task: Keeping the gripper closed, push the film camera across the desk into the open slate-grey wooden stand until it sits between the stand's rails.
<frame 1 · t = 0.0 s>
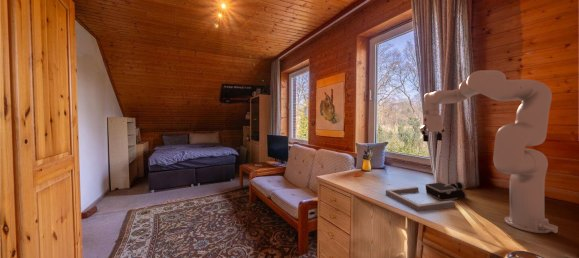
hand: (432, 140, 130), 31 cm above the table, tool pointing down, fingers open, 9 cm apart
film camera: (446, 196, 122), on the table
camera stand: (418, 199, 119), on the table
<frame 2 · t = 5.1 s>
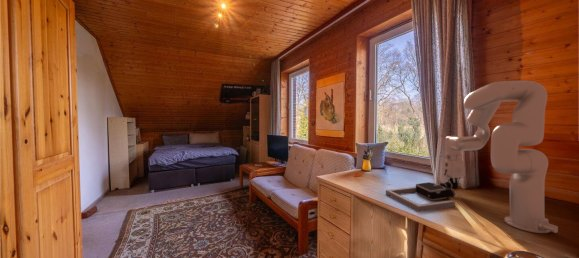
hand: (454, 188, 123), 4 cm above the table, tool pointing down, fingers closed
film camera: (436, 196, 124), on the table, touching gripper
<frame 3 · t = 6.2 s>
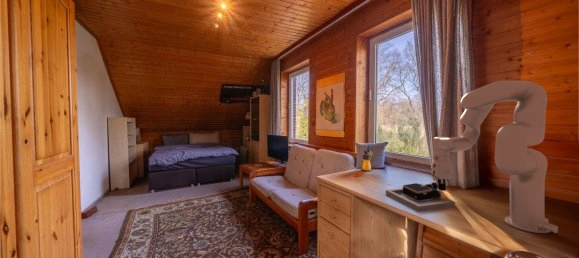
hand: (442, 189, 122), 4 cm above the table, tool pointing down, fingers closed
film camera: (422, 197, 123), resting in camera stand, touching gripper
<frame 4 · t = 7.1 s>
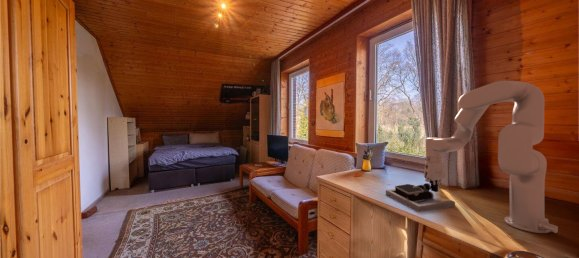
hand: (434, 191, 121), 4 cm above the table, tool pointing down, fingers closed
film camera: (414, 198, 122), resting in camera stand, touching gripper
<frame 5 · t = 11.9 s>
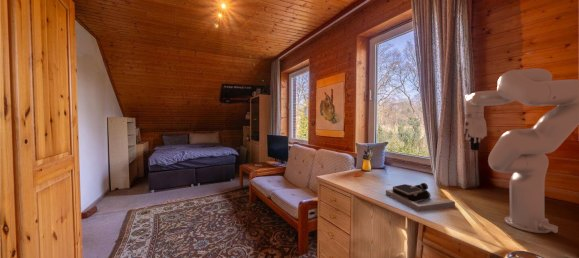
hand: (474, 149, 115), 27 cm above the table, tool pointing down, fingers closed
film camera: (412, 198, 122), resting in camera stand
at the end: film camera inside the target area on the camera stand (3.6 cm from its centre), point 0.0 cm above the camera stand's base; film camera tilted 0°; film camera moved 20.0 cm from its start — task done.
